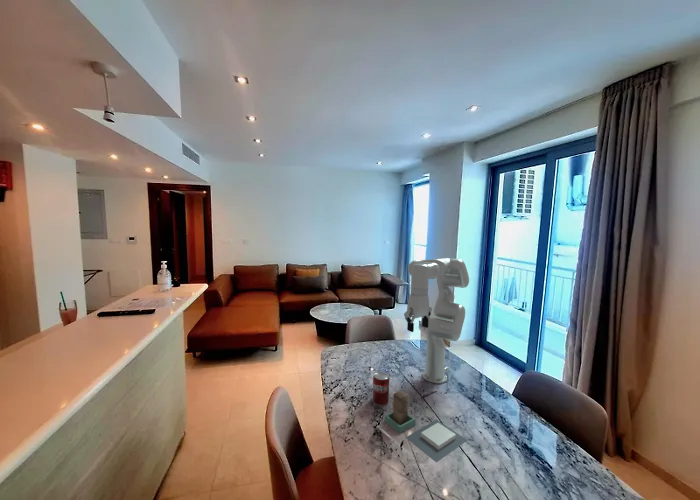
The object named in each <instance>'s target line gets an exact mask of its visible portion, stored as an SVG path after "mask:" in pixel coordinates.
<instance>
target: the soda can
mask: <svg viewBox="0 0 700 500" xmlns="http://www.w3.org/2000/svg"><path fill="white" fill-rule="evenodd" d="M389 399H390V376H389V374H388V373H385V372H376V373H374V374H373V376H372V402H373V403H374V404H375V405H377V406H381V407H382V406H386V405H387V404H388V403H389V402H390V400H389Z"/></svg>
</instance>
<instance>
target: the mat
mask: <svg viewBox="0 0 700 500" xmlns="http://www.w3.org/2000/svg"><path fill="white" fill-rule="evenodd" d="M436 423H440V424H441V425H443V426H444V427H446V428H447V429H449V430H450V431H452V432H453V433H455V434H456V439H454V440H453V441H451V442H450V443H448V444H447V445H445V446H444V447H442V448H441V449H439V450H438V449H437V448H435V447H434V446H433V445H431V444H430V443H429V442H427V441H426V440H425V439H424V438H422V437H421V432H423V431H425V430H426V429H428V428H430V427H431V426H433V425H435V424H436ZM405 439H407V440H408V441H409V442H410V443H412V444H413V445H414V446H415V447H417V448H418V449H419V450H421V451H422V452H423V453H424V454H426V455H427V457H429V458H430V459H432V460H433V461H434V462H436V463H437V462H439V461H441V460H442V459H443V458H445V457H446V456H448V455H449V454H450V453H452V452H454V451H455V450H456V449H458V448H459V447H460V446H462V445H464V444H465V443H466V442H468V439H466V438H465V437H464V436H462V435H461V434H459V433H458V432H456V430H455V431H454V430H453V429H451V428H450V427H448V426H447V425H446V424H443V423H442V422H441V421H439V420H437V419H435V420H433V421H432V422H430V423H427V424H426V425H424V426H423V427H421V428H419V429H418V430H416V431H414V432H412V433H410V434H409V435H407V436H406V437H405Z"/></svg>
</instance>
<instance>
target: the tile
mask: <svg viewBox="0 0 700 500" xmlns="http://www.w3.org/2000/svg"><path fill="white" fill-rule="evenodd" d="M421 437H422V438H424V439H425V440H426V441H427V442H429V443H430V444H431V445H433V446H434V447H435V448H437V449H438V450H439V449H441V448H442V447H444V446H445V445H447V444H448V443H450V442H451V441H453V440H454V439H456V434H455V433H453V432H452V431H450V430H449V429H447V428H446V427H444V426H443V425H441V424H440V423H436V424H435V425H433V426H431V427H430V428H428V429H426V430H425V431H423V432H421Z"/></svg>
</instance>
